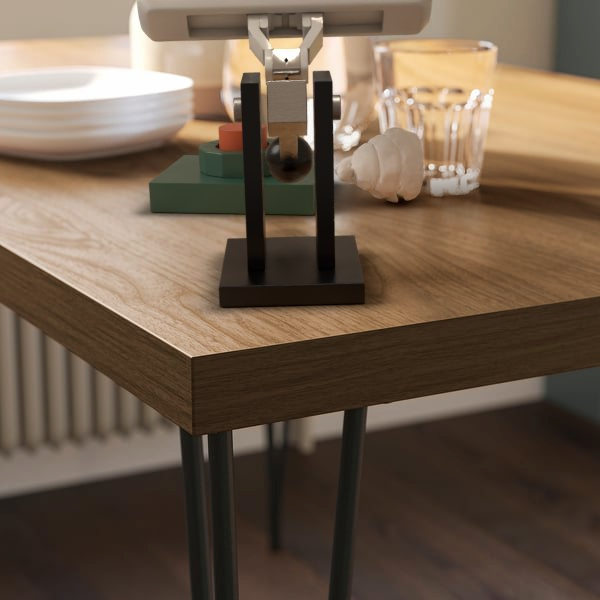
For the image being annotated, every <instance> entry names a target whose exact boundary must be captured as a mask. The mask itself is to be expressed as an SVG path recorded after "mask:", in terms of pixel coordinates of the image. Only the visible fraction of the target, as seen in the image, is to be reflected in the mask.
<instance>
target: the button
mask: <svg viewBox="0 0 600 600" xmlns="http://www.w3.org/2000/svg"><path fill="white" fill-rule="evenodd" d="M262 137H263V149H264V148H267V147H268V146H267V138H268V125H267V124H265V123H262ZM218 140H219V149H221V150H227V151H243V142H242V123H235V122H230V123H226V124H222V125H219V126H218Z"/></svg>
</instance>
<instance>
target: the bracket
mask: <svg viewBox="0 0 600 600" xmlns="http://www.w3.org/2000/svg"><path fill="white" fill-rule="evenodd" d="M261 80H262V79H261V72H260V71H259V72H258V71H255V72H252V71H251V72H243V73H242V76H241V81H240V83H239V89H240V90H239V91H240V97H238V96H237V97H233V100H232V107H233V109H232V111H233V123H242V142H243V168H244V193H245V214H244V216H245V217H244V218H245V237H233V238H232V237H231V238H230V237H229V238H227V239H226V244H225V249H224V255H223V261H222V266H221V272H220V276H219V277H220V278H219V284H218V303H219V304H218V305H219V308H233V307H234V308H235V307H237V308H238V307H273V306H274V307H275V306H311V305H312V306H313V305H349V304H351V305H353V304H354V305H356V304H365V303H366V283H365V278H364V273H363V268H362V263H361V259H360V254H359V250H358V249H359V248H358V244H357V240H356V235H354V234H349V235H347V234H345V235H336V220H335V219H336V218H335V217H336V216H335V215H336V213H335V211H336V210H335V151H334V149H335V148H334V147H335V145H334V143H335V140H334V139H335V138H334V121H341V119H342V98H341V94H334V82H333V78H332V74H331V71H330V70H312V113H313V156H314V172H315V213H314V217H315V219H314V220H315V235H310V236H309V235H308V236H306V235H304V236H272V237H271V236H270V237H269V236H268V237H267V228H266V214H265V196H264V166H263V137H262V124H263V113H262V112H263V111H262V109H263V108H262V84H261V83H262V81H261Z"/></svg>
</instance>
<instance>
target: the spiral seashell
mask: <svg viewBox="0 0 600 600" xmlns="http://www.w3.org/2000/svg"><path fill="white" fill-rule="evenodd" d="M424 163H425V161H424V151H423V146H422V141H421V139H420V137H419V135H418V134H417V133H416V132H412V131H408V130H406V129H405V128H402V127H395V126H394V127H389V128H387V129H386V130H385V131H384V132H383V134H376V135H375V136H373V137H370V139H369V140H368V141H367V142H365V143H362V144H361V145H360V146H358V147H357V148H356V149H355V150H354V151H353V153H352V155H350V156H347V157H345V158H343V159H342V160H340V161H339V162H338V163H337V164H336V166H334V174H335V176H336V177H337V180H339V181H340V182H343V183H346V184H352V185H355V186H356V187H357V188H360V189H362V190H363V191H364V192H365V191H367V192H369V193H370V195H371V196H372V197H374V198H376V199H379V200H383V199H385V200H386V201H388V202H391V203H398V202H399V197H400V198H401V199H403V200H405V201H411V200H414V199H416V198H417V197H418V195H419V194H420V193H421V191H422V187H423V184H424V183H423V182H424V175H425V174H424V173H425V172H424V171H425V165H424ZM398 196H399V197H398Z"/></svg>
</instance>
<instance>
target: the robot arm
mask: <svg viewBox="0 0 600 600" xmlns="http://www.w3.org/2000/svg"><path fill="white" fill-rule="evenodd" d="M136 7H137V8H136V9H137V14H138V15H137V16H138V21H139V26H140V27H141V28H140V29H141V31H142V32H143V33H144V34H145V35H146V37H147V38H148V39H150V40H151V41H153V42H157V43H161V42H162V43H163V42H192V41H193V42H194V41H196V42H197V41H234V40H235V41H236V40H237V41H238V40H248V47H249V50H250V51H251V53H252V54H253V55H254V57H256V59H257V60H258V61H259V62H260V64H261V65H262V67H264V74H265V75H264V77H265V86H267V81H290V80H306V84H307V85H308V84H309V66H310V65H311V64H312V63H313V61H314V60H315V59H316V57H317V55H318V54H319V52H320V51H321V50H322V48H323V47H324V38H342V37H343V38H344V37H345V38H346V37H347V38H348V37H383V36H414V35H419V34H420V33H421V32H422V31H423V30H424V29H425V28H426V26H427V25H429V23H430V21H431V15H432V8H433V0H136ZM270 39H271V40H273V39H302V41H301V43H300V45H299V47H298V48H291V49H288V48H287V49H275V48H274V47H273V45H272V44H271V42H270Z"/></svg>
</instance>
